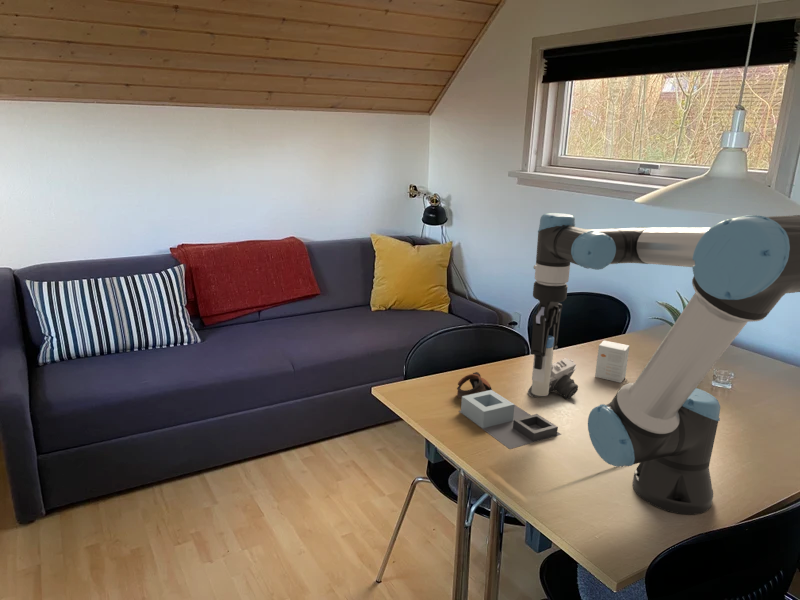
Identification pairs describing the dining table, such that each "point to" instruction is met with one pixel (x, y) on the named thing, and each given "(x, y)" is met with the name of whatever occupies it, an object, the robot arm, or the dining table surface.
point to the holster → (536, 435)
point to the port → (487, 408)
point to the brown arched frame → (473, 385)
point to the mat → (511, 431)
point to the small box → (612, 361)
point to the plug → (540, 387)
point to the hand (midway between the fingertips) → (541, 377)
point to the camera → (561, 379)
